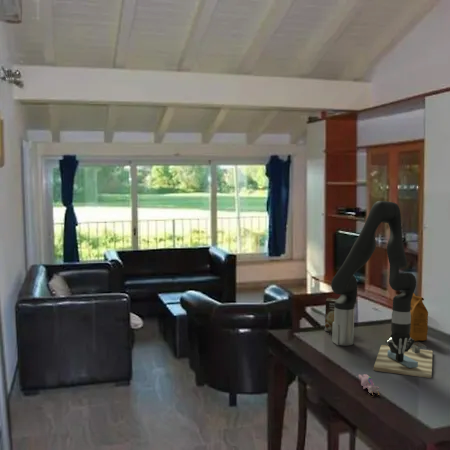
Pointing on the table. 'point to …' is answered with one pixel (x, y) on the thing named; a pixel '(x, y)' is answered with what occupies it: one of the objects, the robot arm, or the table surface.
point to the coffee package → (418, 319)
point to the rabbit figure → (368, 383)
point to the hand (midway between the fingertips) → (399, 361)
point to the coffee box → (329, 313)
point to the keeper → (417, 347)
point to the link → (404, 360)
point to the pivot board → (393, 366)
